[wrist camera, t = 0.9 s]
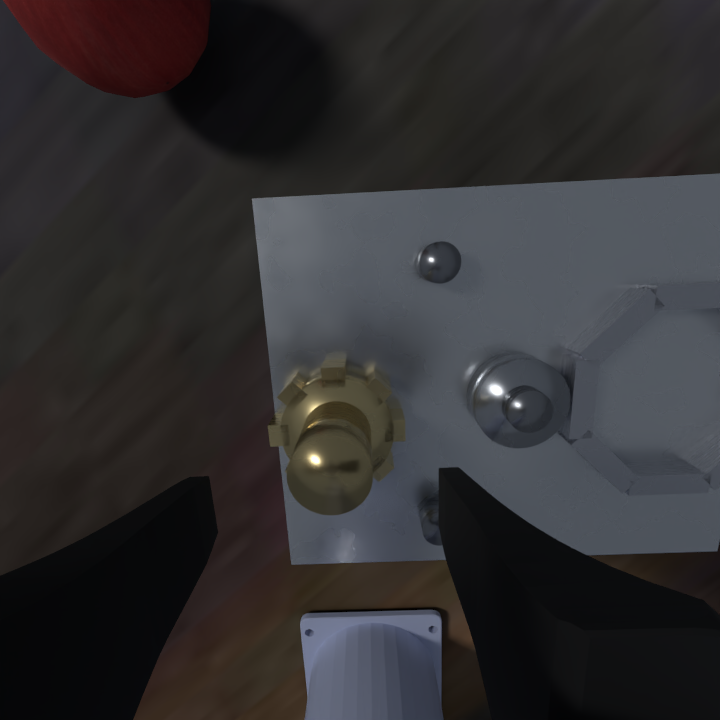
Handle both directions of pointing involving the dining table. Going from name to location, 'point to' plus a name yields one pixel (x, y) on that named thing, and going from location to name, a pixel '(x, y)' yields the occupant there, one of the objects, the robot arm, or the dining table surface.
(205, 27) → the onion
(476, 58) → the dining table surface
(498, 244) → the carrier plate
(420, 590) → the dining table surface
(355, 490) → the gear
